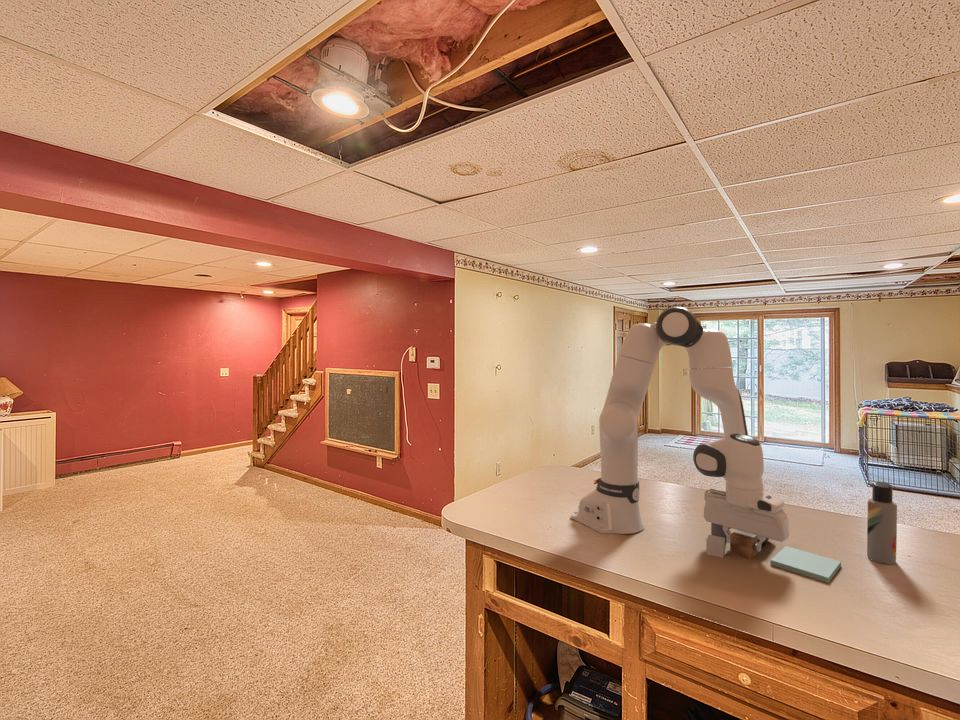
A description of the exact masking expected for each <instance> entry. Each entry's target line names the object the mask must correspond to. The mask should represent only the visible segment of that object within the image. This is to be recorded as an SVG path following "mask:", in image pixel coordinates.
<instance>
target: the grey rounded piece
mask: <svg viewBox="0 0 960 720" xmlns="http://www.w3.org/2000/svg"><path fill="white" fill-rule="evenodd" d="M710 525H711V526H710V527H711V528H710V535H713V536H718V537H723V538H725V543H728V542H727V536H726V534H725V533H724V531H723V526H722V525H718V524H715V523H711V522H710Z"/></svg>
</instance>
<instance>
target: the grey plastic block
mask: <svg viewBox="0 0 960 720" xmlns="http://www.w3.org/2000/svg"><path fill="white" fill-rule="evenodd" d="M705 541H706V548H705V549H706V555H709V556H712V557H713V556H714V557H717V558H721V559H724V557H725V553H726V542H725V538H723V537H718V536H713V535H711V534H708V535H707V538H706V540H705Z"/></svg>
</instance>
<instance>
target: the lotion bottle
mask: <svg viewBox="0 0 960 720" xmlns="http://www.w3.org/2000/svg"><path fill="white" fill-rule="evenodd" d="M897 527H898V505H897V503H896V502H893V485H892V484H890V483H889V482H885V481H874V482H872V496H871V498H869V499H868V500H867V527H866V530H867V531H866V534H867V535H866V546H867V547H866V556H867V558H868V559H870V560H871V561H873V562H876V563H879V564H884V565H894V564H896V562H897V533H898V532H897V531H898V530H897V529H898V528H897Z"/></svg>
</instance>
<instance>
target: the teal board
mask: <svg viewBox="0 0 960 720" xmlns="http://www.w3.org/2000/svg"><path fill="white" fill-rule="evenodd" d="M770 565H771V566H774V567H776V568H777V567H778V568H781V569H783V570H786V571H790V572H792V573H796V574H799V575H802V576H805V577H809V578H812V579H815V580H818V581H822V582H825V583H830V581H832V579H833V578H834V576H835V575H836V574H837V572H838V571H839V569H841V567H842V561H840V560H837V559H833V558H830V557H826V556H823V555H819V554H816V553H812V552H808V551H805V550H801V549H798V548H795V547H791V546H787V545H786V546H784V547H783V548H781V550H780V551H779V552H777V554H776V555H774V556H773V557H772V558H771V559H770Z"/></svg>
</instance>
